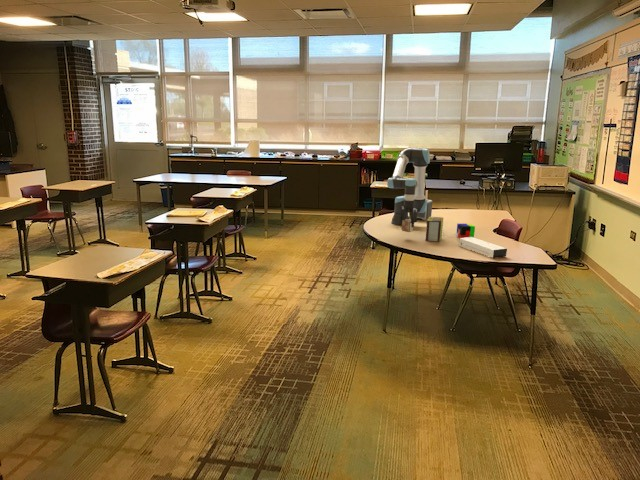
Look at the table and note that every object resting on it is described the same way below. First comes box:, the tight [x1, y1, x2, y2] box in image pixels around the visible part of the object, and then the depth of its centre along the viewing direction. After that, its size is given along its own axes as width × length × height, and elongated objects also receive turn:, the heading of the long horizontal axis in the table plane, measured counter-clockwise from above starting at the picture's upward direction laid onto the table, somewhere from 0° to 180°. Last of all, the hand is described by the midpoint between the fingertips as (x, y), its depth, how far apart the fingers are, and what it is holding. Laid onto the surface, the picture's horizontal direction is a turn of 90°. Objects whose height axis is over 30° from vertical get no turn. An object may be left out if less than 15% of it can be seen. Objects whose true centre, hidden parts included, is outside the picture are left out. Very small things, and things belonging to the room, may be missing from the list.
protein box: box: [425, 216, 444, 243], centre depth 371 cm, size 10×15×16 cm
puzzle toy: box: [455, 223, 476, 239], centre depth 378 cm, size 10×10×10 cm
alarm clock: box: [408, 198, 433, 222], centre depth 443 cm, size 18×13×18 cm
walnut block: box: [401, 219, 411, 233], centre depth 369 cm, size 6×6×8 cm
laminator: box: [458, 236, 508, 259], centre depth 341 cm, size 34×12×6 cm, turn 24°
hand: (407, 230), depth 370 cm, fingers closed on walnut block, 6 cm apart
